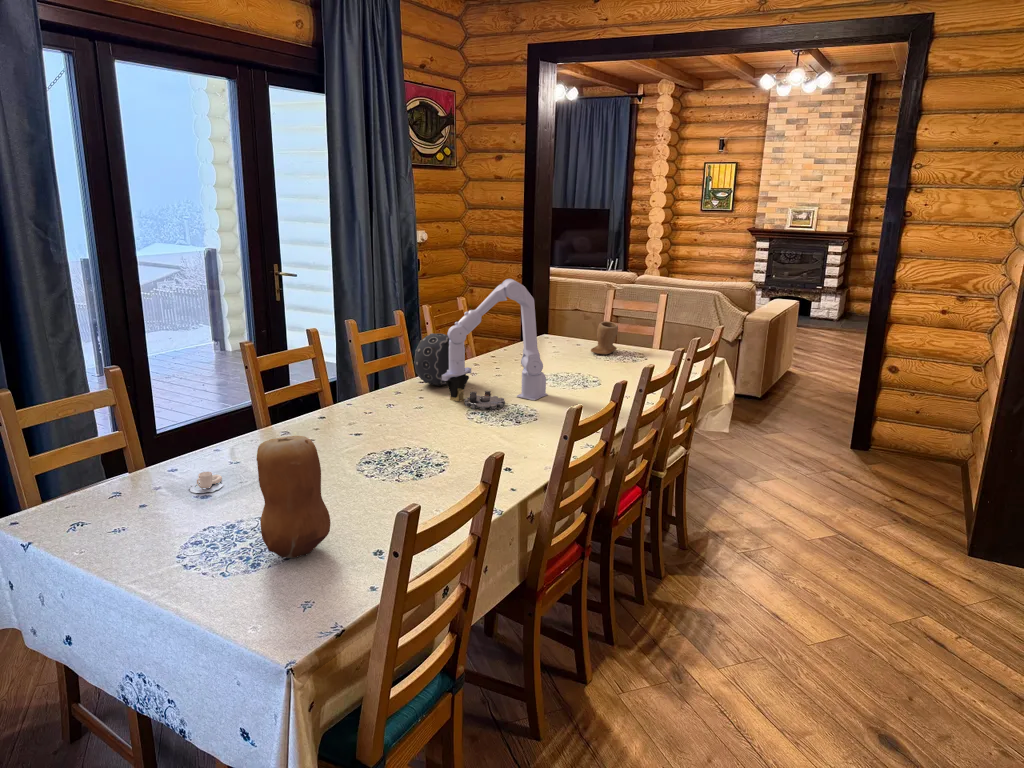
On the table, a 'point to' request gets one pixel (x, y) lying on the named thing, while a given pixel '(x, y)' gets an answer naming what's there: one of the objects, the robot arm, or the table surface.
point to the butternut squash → (291, 496)
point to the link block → (458, 395)
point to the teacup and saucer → (208, 479)
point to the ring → (432, 358)
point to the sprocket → (483, 401)
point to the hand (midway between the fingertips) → (456, 396)
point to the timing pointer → (488, 393)
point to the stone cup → (606, 338)
